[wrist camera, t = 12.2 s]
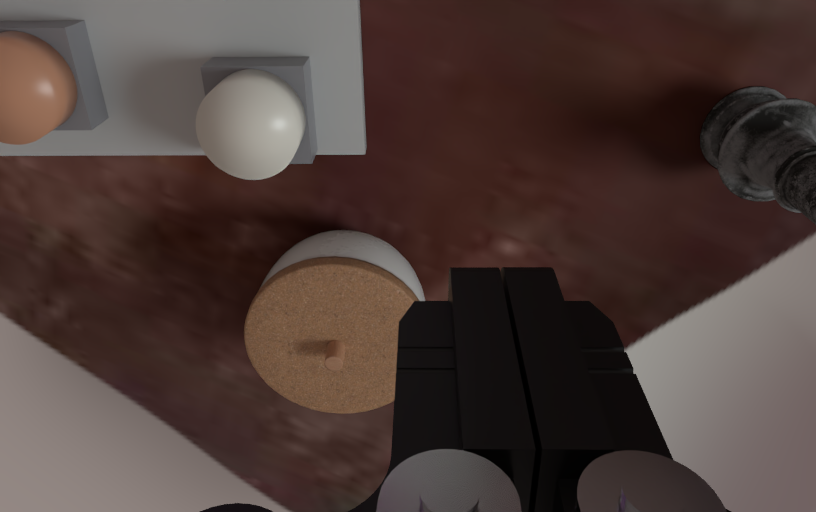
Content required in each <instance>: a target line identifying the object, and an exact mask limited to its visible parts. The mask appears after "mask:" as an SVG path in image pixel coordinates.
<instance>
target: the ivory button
mask: <svg viewBox="0 0 816 512" xmlns="http://www.w3.org/2000/svg"><path fill="white" fill-rule="evenodd" d="M305 126H306V117H305V111H304V108H303V105H302V102H301V100H300V98H299V97H298V95H297V93H296V92H295V91H294V89H293V88H292V87H291V86H290V85H289V84H288V83H287V82H285V81H284V80H283V79H281V78H280V77H278V76H276V75H274V74H272V73H270V72H267V71H263V70H258V69H246V70H241V71H237V72H234V73H232V74H230V75H228V76H227V77H225V78H224V79H223V80H222V81H221V82H220V83H219V84H218V85H217V86H216V87H214V88H213V89H212V90H211V91H210V92H209V93H208V94H207V95H206V96H205V98H204V99H203V100H202V102H201V104H200V106H199V108H198V111H197V115H196V134H197V138H198V141H199V143H200V146H201V148H202V149H203V151H204V153H205V154H206V156H207V157H208V158H209V159H210V160H211V162H212V163H214V164H215V165H216V166H217V167H218V168H220V169H221V170H222V171H224V172H226V173H228V174H230V175H232V176H234V177H238V178H241V179H247V180H260V179H265V178H269V177H272V176H274V175H276V174H278V173H279V172H281V171H282V170H283V169H285V168H286V167H287V166H288V164H289V163H290V162H291V160H292V159H293V157H294V155H295V153H296V151H297V149H298V147H299V145H300V143H301V140H302V138H303V136H304V132H305Z"/></svg>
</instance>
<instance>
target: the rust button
mask: <svg viewBox="0 0 816 512" xmlns="http://www.w3.org/2000/svg"><path fill="white" fill-rule="evenodd" d="M76 103H77V86H76V81H75V78H74V75H73V73H72V71H71V69H70V67H69V65H68V64H67V62H66V61H65V60H64V58H63V57H62V56H61V55H60V54H59V53H58V51H56V50H55V49H54V48H53V47H52V46H51V45H49V44H48V43H47V42H45V41H43V40H42V39H40V38H38V37H36V36H33V35H31V34H28V33H24V32H19V31H5V32H1V33H0V142H2V143H6V144H13V145H22V144H28V143H32V142H34V141H37V140H38V139H40V138H42V137H43V136H45V135H46V134H48V133H49V132H51V131H52V130H54V129H55V128H57V127H58V126H60V125H62V124H63V123H64V122H66V121H67V120H68V119H69V118H70V116H71V115H72V113H73V112H74V109H75V107H76Z"/></svg>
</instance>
